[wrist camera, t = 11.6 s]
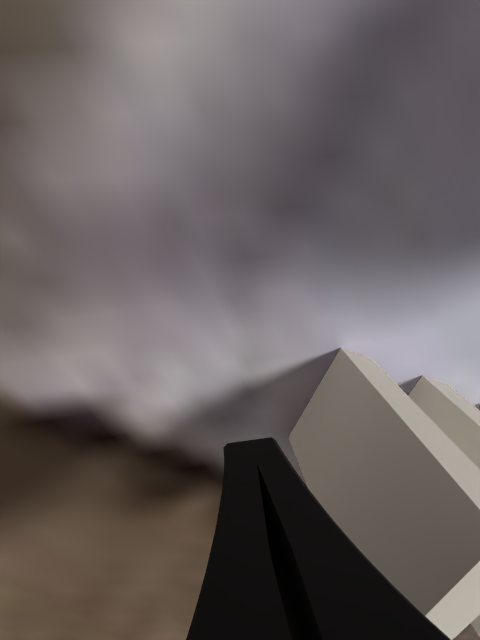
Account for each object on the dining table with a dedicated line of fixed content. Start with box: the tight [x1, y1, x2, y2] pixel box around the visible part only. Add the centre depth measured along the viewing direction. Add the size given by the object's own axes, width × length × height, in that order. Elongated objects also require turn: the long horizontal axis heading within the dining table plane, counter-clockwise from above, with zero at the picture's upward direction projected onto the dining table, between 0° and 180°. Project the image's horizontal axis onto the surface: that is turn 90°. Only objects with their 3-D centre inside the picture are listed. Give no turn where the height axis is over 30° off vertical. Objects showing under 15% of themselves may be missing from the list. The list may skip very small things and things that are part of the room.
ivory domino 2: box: [408, 375, 480, 637], centre depth 13 cm, size 2×5×8 cm, turn 157°
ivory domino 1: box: [288, 348, 480, 640], centre depth 12 cm, size 2×5×8 cm, turn 157°
